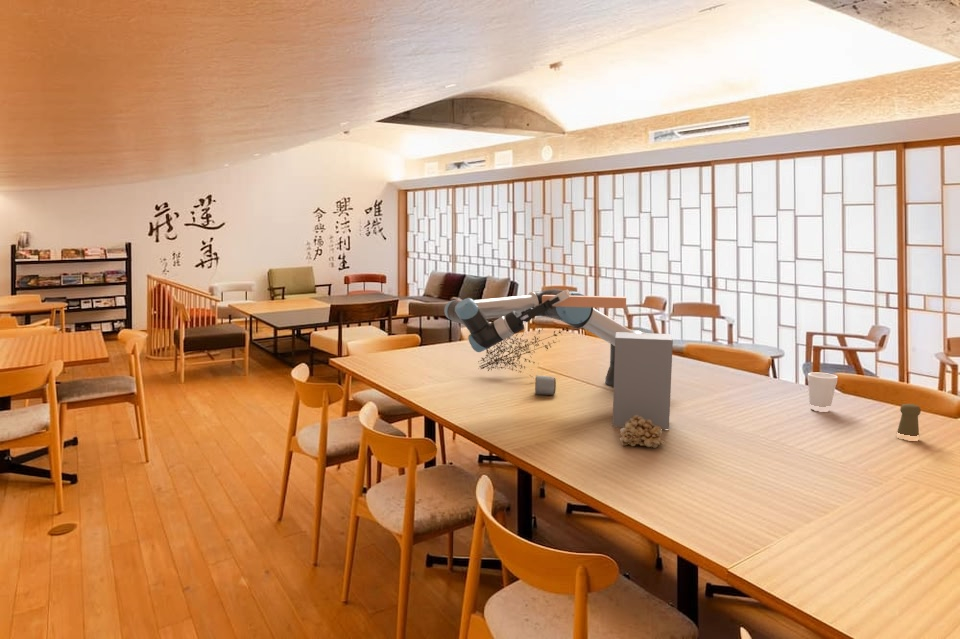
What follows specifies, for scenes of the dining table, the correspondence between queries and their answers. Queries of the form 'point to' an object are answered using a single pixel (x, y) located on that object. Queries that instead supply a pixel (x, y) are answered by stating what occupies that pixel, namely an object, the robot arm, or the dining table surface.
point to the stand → (642, 378)
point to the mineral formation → (641, 433)
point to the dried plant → (512, 352)
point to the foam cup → (821, 388)
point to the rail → (590, 301)
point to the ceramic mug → (545, 385)
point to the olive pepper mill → (909, 420)
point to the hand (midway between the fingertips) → (568, 293)
